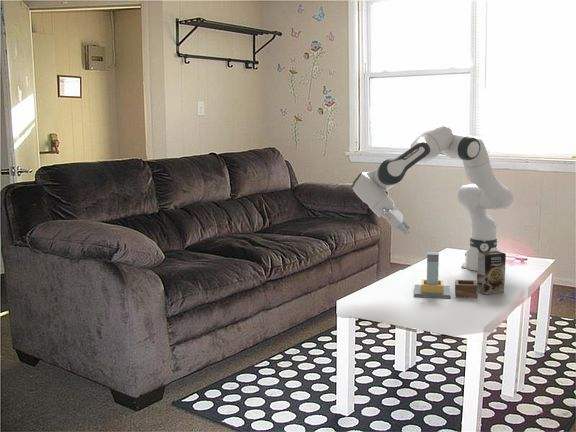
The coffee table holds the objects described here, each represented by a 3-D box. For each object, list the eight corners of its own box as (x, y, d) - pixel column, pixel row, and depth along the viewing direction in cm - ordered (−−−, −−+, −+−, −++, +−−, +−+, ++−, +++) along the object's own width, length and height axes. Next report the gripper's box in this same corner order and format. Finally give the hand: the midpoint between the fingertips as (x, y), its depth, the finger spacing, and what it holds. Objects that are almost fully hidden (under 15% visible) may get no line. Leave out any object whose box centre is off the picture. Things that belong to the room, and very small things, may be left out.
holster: (454, 291, 257) (455, 279, 256) (475, 292, 255) (475, 280, 255) (455, 297, 249) (456, 284, 249) (476, 298, 248) (477, 285, 247)
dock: (414, 287, 264) (415, 277, 264) (449, 288, 261) (449, 278, 261) (414, 296, 251) (414, 286, 250) (450, 298, 248) (450, 287, 247)
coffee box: (485, 294, 252) (486, 255, 249) (476, 290, 258) (477, 251, 256) (505, 292, 254) (506, 253, 252) (495, 288, 261) (497, 250, 258)
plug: (426, 288, 259) (427, 252, 256) (437, 288, 258) (438, 252, 255) (426, 290, 254) (427, 254, 252) (437, 291, 254) (438, 254, 251)
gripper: (388, 204, 244) (413, 230, 243) (390, 198, 264) (414, 222, 263) (376, 216, 246) (401, 241, 245) (380, 208, 265) (403, 232, 265)
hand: (408, 231), depth 254 cm, fingers open, 8 cm apart
